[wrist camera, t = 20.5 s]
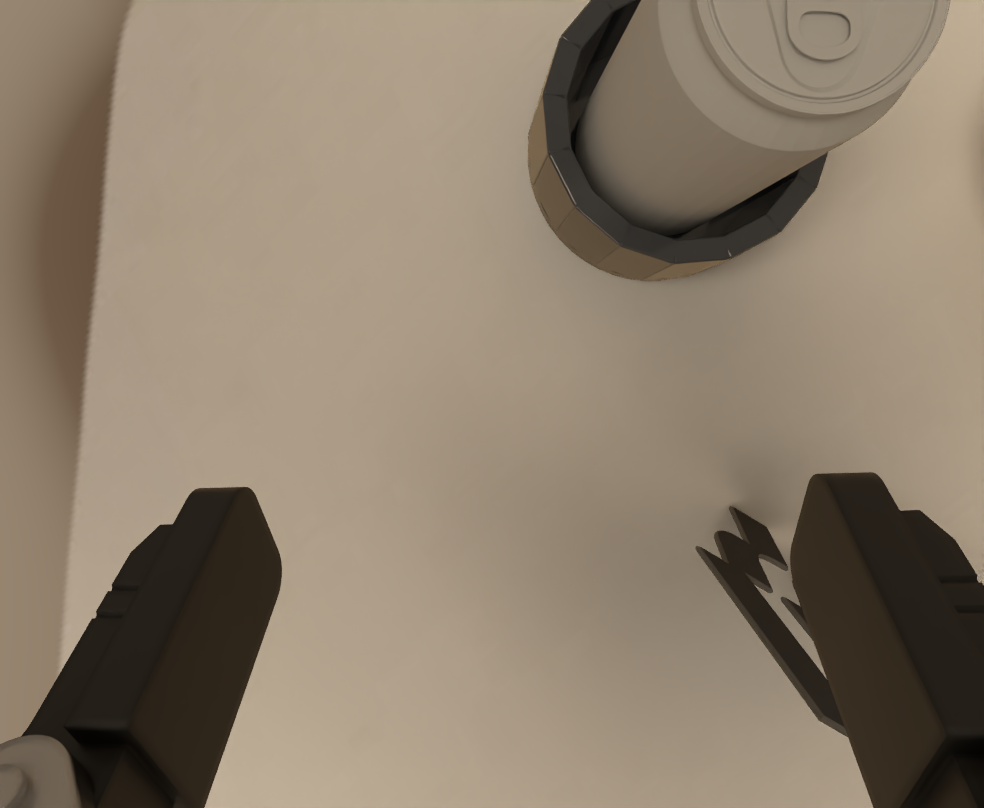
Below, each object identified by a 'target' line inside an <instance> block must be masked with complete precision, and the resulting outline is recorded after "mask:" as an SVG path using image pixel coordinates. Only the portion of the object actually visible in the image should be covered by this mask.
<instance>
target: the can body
mask: <svg viewBox="0 0 984 808" xmlns="http://www.w3.org/2000/svg"><path fill="white" fill-rule="evenodd" d="M640 1H641V0H590V2H589V3H588V4H587V5H586V6H585V8H584V9H583V10H582V11H581V12H580V14H579V15H578V16H577V17H576V18H575V20H574V21H573V22H572V23H571V24H570V26H569V27H568V28H567V29H566V30H565V32H564V33H563V34H562V35H561V38H560V39H559V41H558V44H557V47H556V50H555V53H554V56H553V59H552V62H551V65H550V67H549V70H548V73H547V76H546V79H545V82H544V85H543V88H542V91H541V94H540V98H539V101H538V104H537V107H536V111H535V114H534V117H533V120H532V124H531V127H530V130H529V136H528V141H529V143H528V167H529V174H530V180H531V185H532V188H533V191H534V195H535V198H536V201H537V203H538V205H539V208H540V210H541V212H542V214H543V216H544V217H545V219H546V221H547V223H548V224H549V226H550V227H551V229H552V230H553V231H554V233H555V234H556V235H557V236H558V238H559V239H560V240H561V241H562V242H563V243H564V244H565V245H566V246H567V247H568V248H569V249H570V250H571V251H572V252H573V253H575V254H576V255H577V256H579V257H580V258H581V259H583V260H584V261H585V262H587V263H589V264H591V265H592V266H594V267H596V268H598V269H600V270H602V271H605V272H607V273H610V274H612V275H615V276H619V277H623V278H627V279H633V280H642V281H661V280H667V279H674V278H678V277H686V276H690V275H693V274H696V273H698V272H701V271H703V270H705V269H708V268H710V267H713V266H715V265H718V264H720V263H722V262H725V261H727V260H730V259H732V258H734V257H736V256H738V255H740V254H742V253H743V252H745V251H747V250H749V249H751V248H753V247H755V246H757V245H758V244H760V243H762V242H764V241H766V240H768V239H770V238H772V237H774V236H775V235H777V234H778V233H779V232H781V231H782V230H783V229H784V228H785V226H786V225H787V224H788V223H789V222H790V220H791V219H792V218H793V217H794V215H795V214H796V213H797V212H798V211H799V209H800V208H801V207H802V206H803V204H804V203H805V202H806V201H807V200H808V198H809V197H810V196H811V195H812V194H813V192H814V191H815V189H816V188H817V185H818V182H819V179H820V176H821V173H822V169H823V166H824V163H825V160H826V157H827V153H828V152H827V153H825V154H824V155H822V156H820V157H818V158H817V159H815V160H813V161H811V162H810V163H808V164H806V165H805V166H803V167H801V168H799V169H798V170H796V171H794V172H792V173H791V174H789V175H787V176H786V177H784V178H782V179H780V180H779V181H777V182H775V183H773V184H772V185H770V186H768V187H767V188H765V189H763V190H761V191H760V192H758V193H756V194H754V195H753V196H751V197H749V198H748V199H746V200H744V201H742V202H741V203H739V204H737V205H735V206H734V207H732V208H730V209H729V210H727V211H725V212H723V213H722V214H720V215H718V216H716V217H715V218H713V219H711V220H710V221H708V222H706V223H704V224H703V225H701V226H699V227H697V228H695V229H693V230H690V231H688V232H685V233H681V234H676V235H670V236H664V235H661V234H658V233H655V232H652V231H649V230H646V229H643V228H640V227H637V226H634V225H631V224H630V223H629V222H628V221H627V220H626V219H624V218H623V217H622V216H621V215H620V214H619V213H618V212H616V211H615V210H614V209H613V208H612V207H611V206H610V205H608V204H607V203H606V202H605V201H604V200H603V199H602V198H600V197H599V196H598V195H597V194H596V193H595V192H594V191H593V190H592V188H591V186H590V184H589V182H588V180H587V178H586V176H585V174H584V172H583V170H582V168H581V166H580V164H579V162H578V160H577V158H576V153H575V142H576V133H577V128H578V124H579V120H580V117H581V114H582V112H583V110H584V108H585V106H586V104H587V102H588V100H589V98H590V96H591V94H592V92H593V91H594V89H595V87H596V85H597V83H598V81H599V79H600V77H601V75H602V73H603V72H604V70H605V68H606V66H607V64H608V62H609V60H610V58H611V56H612V55H613V53H614V51H615V49H616V47H617V45H618V43H619V41H620V39H621V37H622V36H623V34H624V32H625V30H626V28H627V26H628V24H629V22H630V20H631V19H632V17H633V15H634V13H635V11H636V9H637V7H638V5H639V3H640Z"/></svg>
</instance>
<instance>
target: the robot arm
mask: <svg viewBox="0 0 984 808" xmlns="http://www.w3.org/2000/svg"><path fill="white" fill-rule="evenodd" d="M790 564H791V574H792V580H793V584H794V588H795V591H796V594H797V597H798V599H799V602H800V605H801V608H802V611H803V613H804V616H805V619H806V622H807V624H808V627H809V630H810V633H811V635H812V638H813V641H814V644H815V647H816V649H817V652H818V655H819V658H820V660H821V663H822V666H823V669H824V671H825V674H826V677H827V680H828V683H829V685H830V688H831V691H832V694H833V696H834V699H835V702H836V705H837V708H838V710H839V713H840V716H841V719H842V721H843V724H844V727H845V730H846V732H847V735H848V738H849V741H850V744H851V746H852V749H853V752H854V755H855V757H856V760H857V763H858V766H859V769H860V771H861V774H862V777H863V780H864V782H865V785H866V788H867V791H868V793H869V796H870V799H871V802H872V805H873V807H874V808H984V586H983V584H982V583H978V581H977V574H976V573H975V571H974V569H973V568H972V566H971V565H970V563H969V561H968V560H967V558H966V557H965V555H964V553H963V552H962V550H961V549H960V547H959V545H958V544H957V542H956V541H955V540H954V539H953V538H952V537H951V536H950V535H949V534H947V533H946V532H945V531H944V530H943V529H941V528H940V527H939V526H938V525H937V524H936V523H934V522H933V521H932V520H931V519H930V518H928V517H927V516H926V515H925V514H924V513H923V512H921V511H920V510H910V511H900V510H899V509H898V507H897V505H896V503H895V502H894V500H893V498H892V496H891V494H890V493H889V491H888V489H887V487H886V486H885V484H884V482H883V481H882V479H881V478H880V477H879V476H878V475H877V474H875V473H872V472H869V473H831V474H815V475H813V476H812V477H811V479H810V481H809V484H808V487H807V491H806V495H805V498H804V502H803V505H802V509H801V513H800V516H799V520H798V524H797V527H796V531H795V534H794V538H793V542H792V546H791V554H790ZM281 577H282V565H281V558H280V554H279V551H278V548H277V546H276V544H275V541H274V539H273V536H272V534H271V531H270V529H269V527H268V524H267V522H266V519H265V517H264V514H263V512H262V510H261V507H260V505H259V502H258V500H257V497H256V495H255V493H254V492H253V491H252V490H251V489H250V488H248V487H231V488H198V489H195V490H194V491H193V492H192V493H191V494H190V495H189V496H188V498H187V500H186V501H185V503H184V505H183V507H182V509H181V511H180V512H179V514H178V516H177V518H176V520H175V522H174V523H173V524H172V525H159V526H158V527H157V528H156V529H155V530H154V531H153V532H152V533H151V534H150V535H149V536H148V537H147V538H146V539H145V540H144V541H142V542H141V543H140V544H139V545H138V546H137V547H136V548H135V549H134V550H133V551H132V552H131V553H130V555H129V556H128V558H127V560H126V561H125V563H124V565H123V567H122V568H121V570H120V572H119V573H118V575H117V577H116V579H115V580H114V582H113V584H112V591H108V592H107V594H106V596H105V597H104V599H103V601H102V603H101V604H100V606H99V608H98V609H97V611H96V612H97V616H96V618H95V619H92V620H91V621H90V623H89V625H88V626H87V628H86V630H85V632H84V633H83V635H82V637H81V638H80V640H79V642H78V644H77V645H76V647H75V649H74V650H73V652H72V654H71V656H70V657H69V659H68V661H67V662H66V664H65V666H64V668H63V669H62V671H61V673H60V674H59V676H58V678H57V680H56V681H55V683H54V685H53V686H52V688H51V690H50V692H49V693H48V695H47V697H46V698H45V700H44V702H43V704H42V705H41V707H40V709H39V710H38V712H37V714H36V716H35V717H34V719H33V720H32V722H31V724H30V725H29V727H28V728H27V730H26V731H25V732H24V733H23V735H22V736H21V737H18V738H15V739H12V740H9V741H7V742H4V743H2V744H0V808H204V807H205V804H206V801H207V798H208V795H209V793H210V790H211V787H212V784H213V781H214V778H215V775H216V772H217V770H218V767H219V764H220V761H221V758H222V755H223V752H224V749H225V747H226V744H227V741H228V738H229V735H230V732H231V729H232V726H233V724H234V721H235V718H236V715H237V712H238V709H239V706H240V704H241V701H242V698H243V695H244V692H245V689H246V686H247V683H248V681H249V678H250V675H251V672H252V669H253V666H254V663H255V660H256V658H257V655H258V652H259V649H260V646H261V643H262V640H263V638H264V635H265V632H266V629H267V626H268V623H269V620H270V617H271V615H272V612H273V609H274V606H275V603H276V600H277V597H278V594H279V590H280V586H281Z"/></svg>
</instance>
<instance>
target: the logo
mask: <svg viewBox="0 0 984 808" xmlns="http://www.w3.org/2000/svg"><path fill="white" fill-rule="evenodd" d="M729 510H730V512H731V514H732V517H733V519H734V521H735V523H736V525H737V528H738V530H739V532H740V534H741V536H742V539H743V540H742V539H741V538H739V537H737V536H735V535H734V534H731V533H729V532H726V531H717V532H716V533H715V534H714V538H715V542H716V544H717V547H718V550H719V552H720V555H721V558H722V559H720V558H718V557H717V556H715V555H713V554H712V553H710V552H708V551H707V550H705V549H703V548H702V547H699V546H696V550H697V552H698V553H699V555H700V556H701V558H702V559H703V560H704V562H705V563H706V565H707V566H708V567H709V569H710V570H711V571H712V573H713V574H714V576H715V577H716V578H717V580H718V581H719V583H720V584H721V585H722V587H723V588H724V589H725V591H726V592H727V594H728V595H729V596H730V598H731V599H732V601H733V602H734V603H735V605H736V606H737V608H738V609H739V610H740V612H741V613H742V614H743V616H744V617H745V619H746V620H747V621H748V623H749V624H750V626H751V627H752V628H753V630H754V631H755V632H756V634H757V635H758V637H759V638H760V639H761V641H762V642H763V644H764V645H765V646H766V648H767V649H768V650H769V652H770V653H771V655H772V656H773V657H774V659H775V660H776V662H777V663H778V664H779V666H780V667H781V669H782V670H783V671H784V673H785V674H786V675H787V677H788V678H789V680H790V681H791V682H792V684H793V685H794V687H795V688H796V689H797V691H798V692H799V693H800V695H801V696H802V698H803V699H804V700H805V702H806V703H807V705H808V706H809V707H810V709H811V710H812V712H813V713H814V714H815V716H816V717H817V718H818V720H819V721H821V722H823V723H824V724H826V725H828V726H830V727H831V728H833V729H835V730H836V731H838V732H840V733H842V734H843V735H845V736H847V737H848V735H847V732H846V730H845V727H844V724H843V721H842V719H841V716H840V713H839V710H838V708H837V705H836V702H835V699H834V696H833V694H832V691H831V688H830V685H829V683H828V680H827V679H826V678H825V676H824V675H823V674H822V673H821V671H820V670H819V669H818V667H817V666H816V665H815V663H814V662H813V661H812V660H811V658H810V657H809V656H808V654H807V653H806V652H805V650H804V649H803V648H802V647H801V645H800V644H799V643H798V641H797V640H796V639H795V637H794V636H793V635H792V634H791V632H790V631H789V630H788V628H787V627H786V626H785V624H784V623H783V622H782V621H781V619H780V618H779V617H778V615H777V614H776V613H775V611H774V610H773V609H772V608H771V606H770V605H769V604H768V602H767V601H766V600H765V598H764V597H763V596H762V595H761V593H760V592H759V591H758V589H757V588H756V587H755V585H756V586H758V587H759V588H761V589H763V590H765V591H766V592H768V593H772V592H773V590H772V587H771V585H770V583H769V581H768V579H767V577H766V575H765V572H764V570H763V568H762V566H761V564H760V562H759V558H761V559H764V560H766V561H768V562H770V563H772V564H774V565H776V566H778V567H779V568H781V569H783V570H785V571H787V570H788V566H787V564H786V562H785V560H784V559H783V557H782V555H781V553H780V551H779V549H778V547H777V546H776V544H775V542H774V540H773V538H772V536H771V534H770V532H769V531H768V529H767V527H765V526H764V525H762V524H760V523H759V522H757V521H755V520H754V519H752V518H751V517H749V516H747V515H746V514H744V513H742V512H741V511H739V510H737V509H736V508H734V507H732V506H730V507H729ZM792 583H793V580H792ZM793 587H794V584H793ZM794 589H795V588H794ZM781 601H782V603H783V604H784V605H785V606H786V608H787V609H788V610H789V611H790V613H791V614H792V615H793V616H794V618H795V619H796V620H797V621H798V622H799V624H800V625H801V626H802V627H803V629H804V630H805V631H806V632H807V634H808V635H809V636H810V637H811V639H812V640H813V638H812V635H811V633H810V630H809V627H808V624H807V622H806V619H805V616H804V613H803V611H802V608H801V607H800V606H799V605H797V604H795V603H794V602H792V601H790V600H789V599H787V598H785V597H781Z"/></svg>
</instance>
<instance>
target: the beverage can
mask: <svg viewBox="0 0 984 808" xmlns="http://www.w3.org/2000/svg"><path fill="white" fill-rule="evenodd" d="M949 5H950V0H641V1H640V3H639V5H638V7H637V9H636V11H635V13H634V15H633V17H632V19H631V20H630V22H629V24H628V26H627V28H626V30H625V32H624V34H623V36H622V37H621V39H620V41H619V43H618V45H617V47H616V49H615V51H614V53H613V55H612V56H611V58H610V60H609V62H608V64H607V66H606V68H605V70H604V72H603V73H602V75H601V77H600V79H599V81H598V83H597V85H596V87H595V89H594V91H593V92H592V94H591V96H590V98H589V100H588V102H587V104H586V106H585V108H584V110H583V112H582V114H581V117H580V120H579V124H578V128H577V133H576V142H575V153H576V158H577V160H578V162H579V164H580V166H581V168H582V170H583V172H584V174H585V176H586V178H587V180H588V182H589V184H590V186H591V188H592V190H593V191H594V192H595V193H596V194H597V195H598V196H599V197H600V198H602V199H603V200H604V201H605V202H606V203H607V204H608V205H610V206H611V207H612V208H613V209H614V210H615V211H616V212H618V213H619V214H620V215H621V216H622V217H623V218H624V219H626V220H627V221H628V222H629V223H630V224H631V225H634V226H637V227H640V228H643V229H646V230H649V231H652V232H655V233H658V234H661V235H664V236H670V235H676V234H681V233H685V232H688V231H690V230H693V229H695V228H697V227H699V226H701V225H703V224H704V223H706V222H708V221H710V220H711V219H713V218H715V217H716V216H718V215H720V214H722V213H723V212H725V211H727V210H729V209H730V208H732V207H734V206H735V205H737V204H739V203H741V202H742V201H744V200H746V199H748V198H749V197H751V196H753V195H754V194H756V193H758V192H760V191H761V190H763V189H765V188H767V187H768V186H770V185H772V184H773V183H775V182H777V181H779V180H780V179H782V178H784V177H786V176H787V175H789V174H791V173H792V172H794V171H796V170H798V169H799V168H801V167H803V166H805V165H806V164H808V163H810V162H811V161H813V160H815V159H817V158H818V157H820V156H822V155H824V154H825V153H827V152H829V151H830V150H832V149H834V148H836V147H837V146H839V145H841V144H843V143H844V142H846V141H848V140H849V139H851V138H853V137H855V136H856V135H858V134H860V133H861V132H863V131H864V130H866V129H867V128H869V127H870V126H871V125H873V124H874V123H875V122H877V121H878V120H879V119H880V118H881V117H882V116H883V115H885V114H886V113H887V111H888V110H889V109H890V108H891V107H892V106H893V105H894V104H895V102H896V101H897V100H898V99H899V97H900V96H901V95H902V93H903V92H904V90H905V89H906V87H907V85H908V84H909V82H910V80H911V78H912V77H913V76H914V75H915V74H916V73H917V72H918V71H919V70H920V68H921V67H922V66H923V65H924V63H925V62H926V61H927V59H928V58H929V56H930V54H931V53H932V51H933V49H934V48H935V46H936V44H937V42H938V40H939V38H940V35H941V33H942V30H943V28H944V25H945V22H946V18H947V14H948V10H949Z"/></svg>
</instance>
